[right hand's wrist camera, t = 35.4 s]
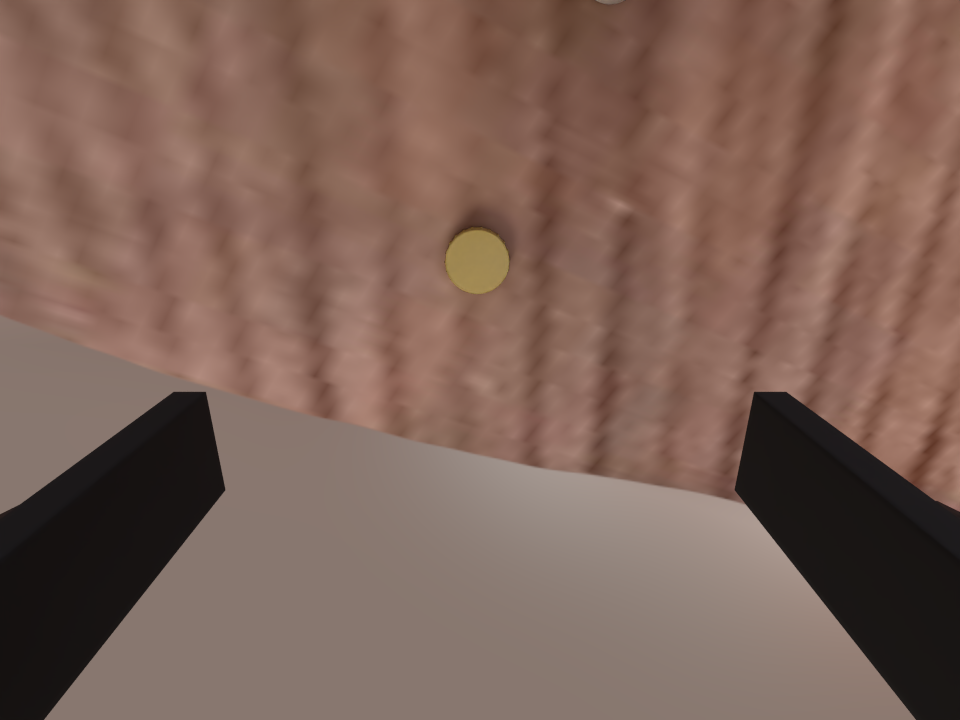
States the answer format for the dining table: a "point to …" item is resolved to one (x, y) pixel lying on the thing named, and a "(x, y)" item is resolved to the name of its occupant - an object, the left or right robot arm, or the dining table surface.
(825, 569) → the right robot arm
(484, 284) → the lid
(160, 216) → the dining table surface
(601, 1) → the beige bottle
